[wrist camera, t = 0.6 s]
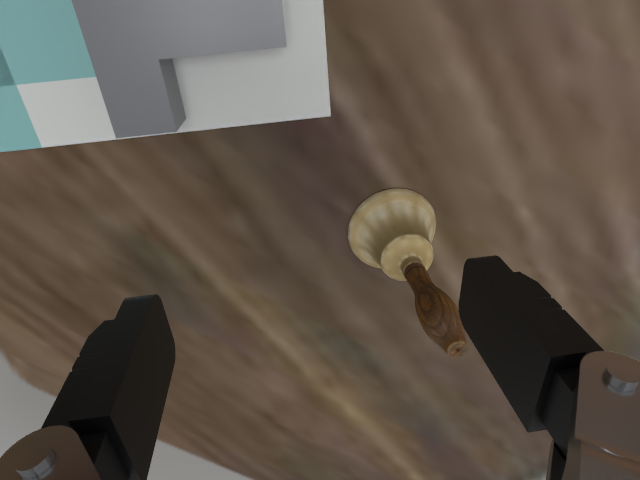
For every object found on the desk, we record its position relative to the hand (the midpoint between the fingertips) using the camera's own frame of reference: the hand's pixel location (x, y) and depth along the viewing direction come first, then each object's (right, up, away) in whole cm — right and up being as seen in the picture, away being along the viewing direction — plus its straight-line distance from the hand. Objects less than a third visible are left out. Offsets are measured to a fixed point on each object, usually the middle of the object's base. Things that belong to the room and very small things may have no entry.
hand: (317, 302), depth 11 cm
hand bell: (+7, +3, +28) cm, 29 cm away
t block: (-9, +17, +17) cm, 26 cm away
